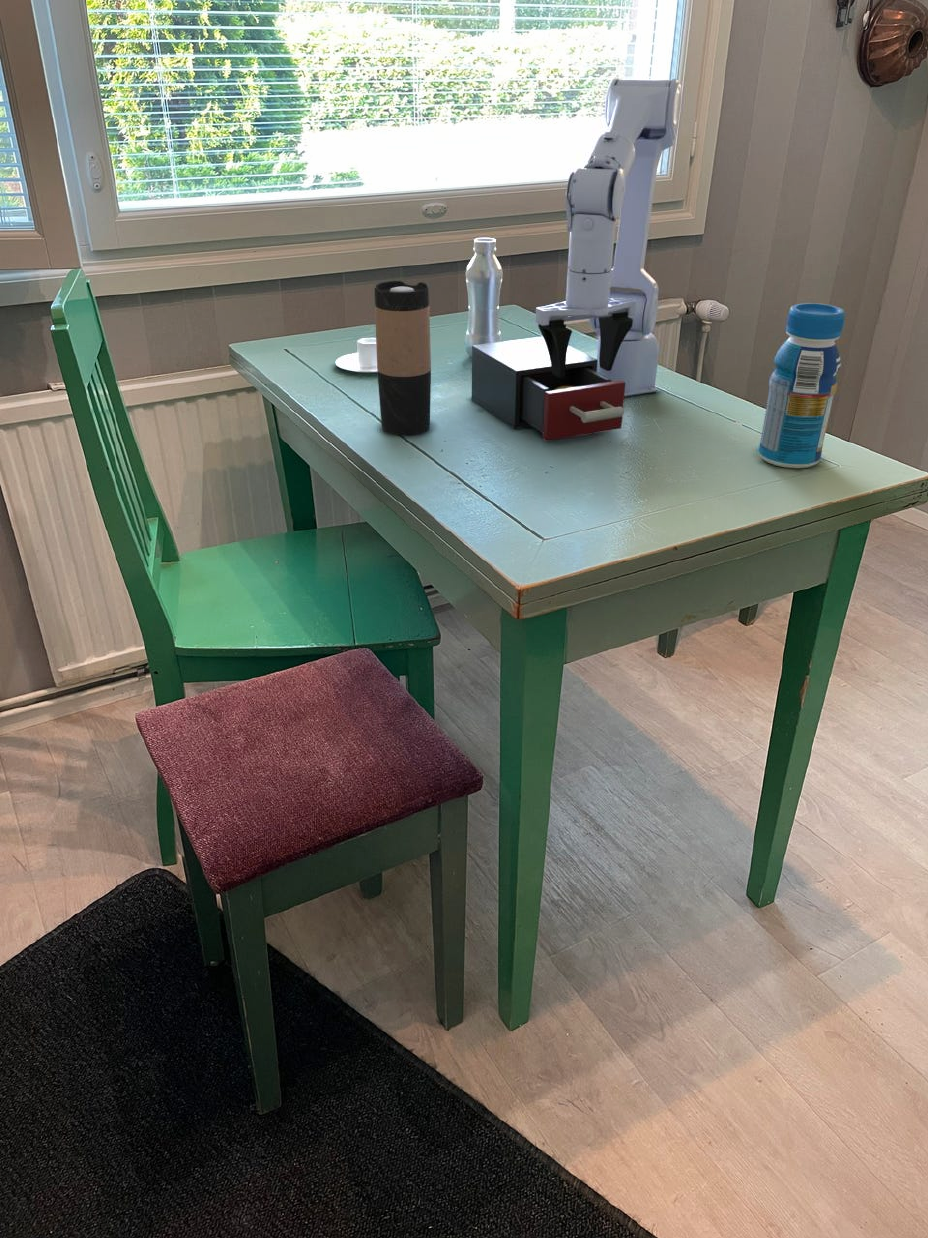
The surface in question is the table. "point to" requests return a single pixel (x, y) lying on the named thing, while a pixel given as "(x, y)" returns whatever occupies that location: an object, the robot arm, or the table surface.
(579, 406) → the drawer
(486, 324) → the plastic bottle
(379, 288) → the travel mug
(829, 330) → the beverage bottle
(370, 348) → the candle holder
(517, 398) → the charcoal grey case
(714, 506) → the table surface
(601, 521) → the table surface
